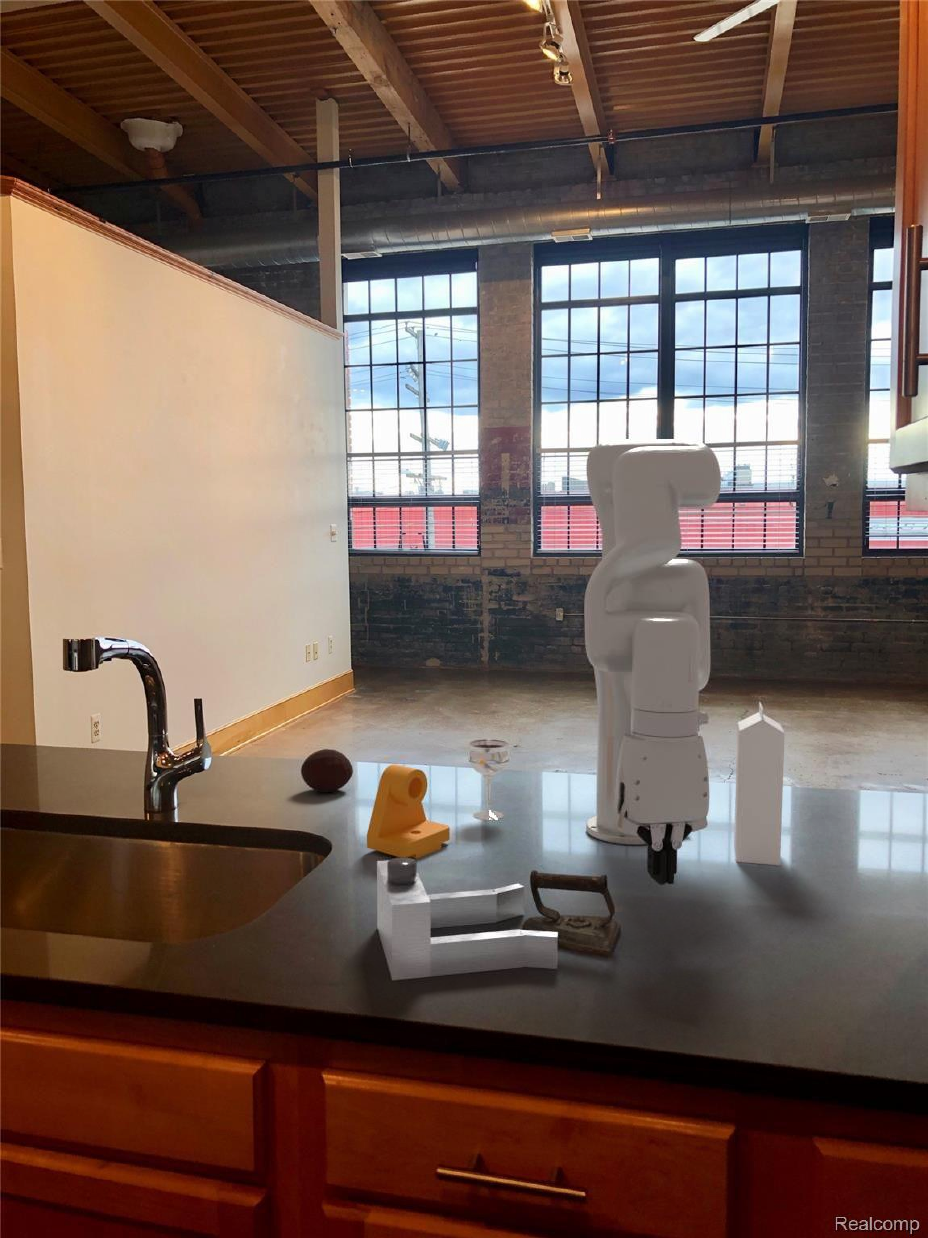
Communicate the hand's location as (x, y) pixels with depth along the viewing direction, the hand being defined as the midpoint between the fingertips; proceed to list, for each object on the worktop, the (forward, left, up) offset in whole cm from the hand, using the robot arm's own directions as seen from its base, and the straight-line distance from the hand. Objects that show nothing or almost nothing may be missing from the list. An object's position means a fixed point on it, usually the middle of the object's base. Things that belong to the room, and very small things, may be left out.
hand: (661, 880), depth 105 cm
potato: (+34, -67, -6) cm, 75 cm away
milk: (-24, -20, -6) cm, 31 cm away
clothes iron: (+11, 0, -6) cm, 13 cm away
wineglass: (+9, -47, -6) cm, 48 cm away
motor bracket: (+23, -1, -6) cm, 24 cm away
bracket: (+24, -34, -6) cm, 42 cm away
